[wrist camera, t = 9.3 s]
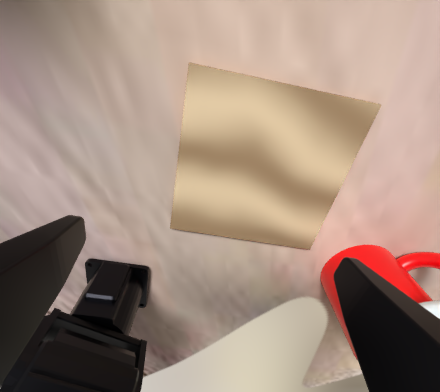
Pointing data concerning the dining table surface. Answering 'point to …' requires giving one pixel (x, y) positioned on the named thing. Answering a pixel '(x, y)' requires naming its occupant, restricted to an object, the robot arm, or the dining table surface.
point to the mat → (262, 156)
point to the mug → (380, 273)
